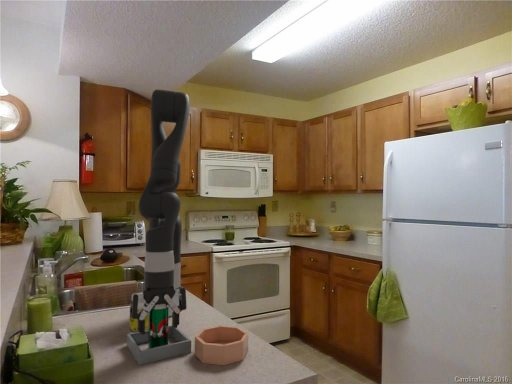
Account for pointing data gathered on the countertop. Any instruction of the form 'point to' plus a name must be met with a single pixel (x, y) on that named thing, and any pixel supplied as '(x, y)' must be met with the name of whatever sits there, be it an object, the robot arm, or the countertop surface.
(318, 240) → the countertop surface
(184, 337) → the grey square frame
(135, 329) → the pill bottle
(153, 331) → the soda can
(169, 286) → the robot arm
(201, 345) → the bowl
